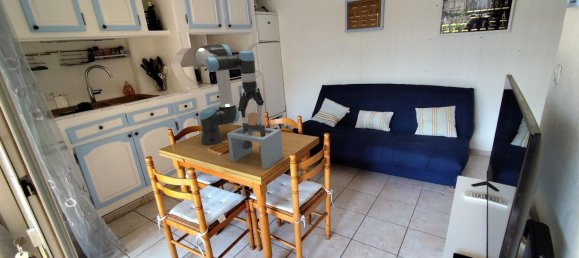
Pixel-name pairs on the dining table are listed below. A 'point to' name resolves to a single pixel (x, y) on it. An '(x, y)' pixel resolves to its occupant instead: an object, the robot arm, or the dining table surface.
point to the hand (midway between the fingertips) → (252, 119)
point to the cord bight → (252, 128)
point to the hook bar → (251, 132)
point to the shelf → (268, 146)
